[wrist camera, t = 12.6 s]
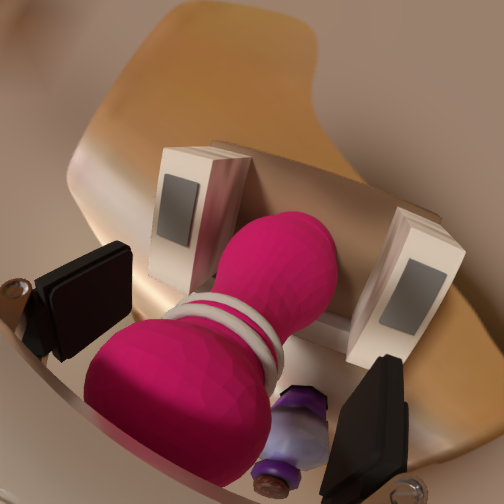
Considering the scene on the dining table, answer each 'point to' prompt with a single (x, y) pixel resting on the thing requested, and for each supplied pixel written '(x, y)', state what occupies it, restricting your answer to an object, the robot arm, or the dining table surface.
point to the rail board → (332, 217)
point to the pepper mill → (218, 351)
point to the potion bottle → (293, 441)
